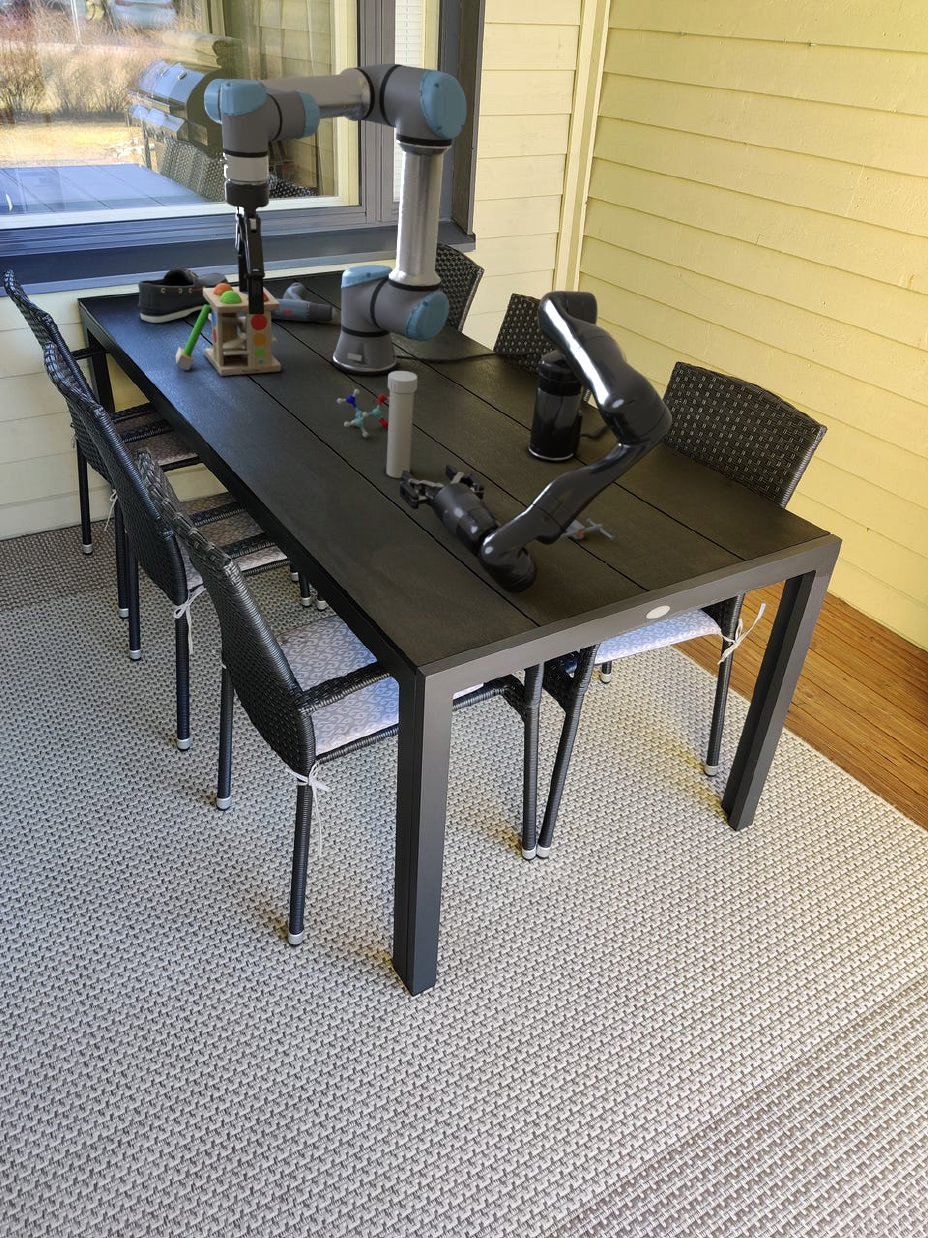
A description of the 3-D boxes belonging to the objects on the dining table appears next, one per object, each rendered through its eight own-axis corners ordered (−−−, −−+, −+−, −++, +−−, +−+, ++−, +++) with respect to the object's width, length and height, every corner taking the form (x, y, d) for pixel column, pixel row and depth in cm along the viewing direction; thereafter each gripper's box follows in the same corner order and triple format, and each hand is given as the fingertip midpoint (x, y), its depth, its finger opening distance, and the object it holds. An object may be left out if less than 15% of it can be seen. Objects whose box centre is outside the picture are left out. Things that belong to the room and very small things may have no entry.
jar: (388, 466, 193) (392, 372, 182) (411, 469, 193) (416, 375, 182) (384, 476, 189) (388, 381, 178) (408, 479, 189) (413, 384, 178)
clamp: (523, 504, 179) (568, 495, 184) (522, 515, 180) (566, 506, 185) (570, 543, 169) (616, 532, 173) (569, 554, 170) (614, 543, 174)
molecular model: (383, 429, 198) (367, 381, 197) (344, 444, 202) (327, 397, 200) (405, 426, 209) (389, 380, 207) (367, 440, 212) (351, 395, 211)
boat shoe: (248, 301, 272) (246, 262, 267) (158, 325, 248) (153, 283, 243) (214, 293, 278) (211, 255, 272) (123, 315, 254) (117, 274, 248)
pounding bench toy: (183, 379, 220) (176, 299, 210) (169, 357, 231) (162, 280, 221) (282, 371, 230) (280, 294, 220) (264, 350, 240) (262, 276, 230)
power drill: (344, 304, 276) (335, 327, 259) (277, 298, 275) (264, 321, 258) (344, 285, 273) (335, 306, 256) (277, 279, 272) (264, 300, 255)
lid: (389, 381, 184) (390, 369, 182) (418, 384, 184) (419, 372, 182) (385, 391, 179) (386, 379, 178) (414, 394, 179) (415, 382, 178)
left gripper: (216, 165, 180) (223, 282, 192) (233, 195, 161) (239, 324, 173) (258, 166, 182) (261, 282, 194) (279, 196, 163) (282, 323, 175)
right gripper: (423, 539, 165) (388, 495, 177) (499, 527, 171) (460, 485, 182) (426, 499, 161) (390, 457, 173) (503, 488, 166) (463, 448, 178)
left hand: (251, 302), depth 184 cm, fingers open, 13 cm apart
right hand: (426, 471), depth 177 cm, fingers open, 8 cm apart
